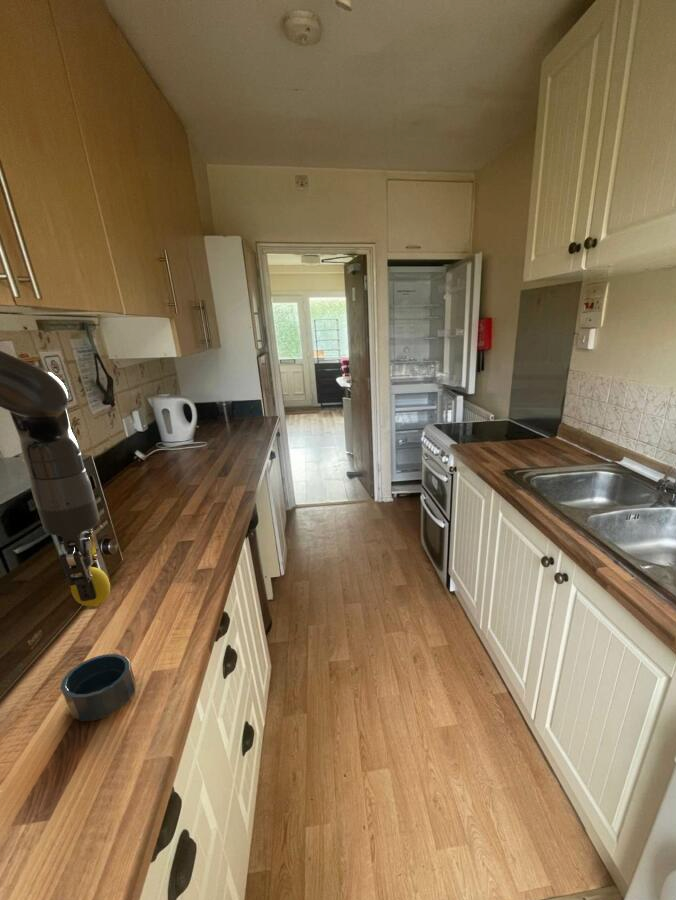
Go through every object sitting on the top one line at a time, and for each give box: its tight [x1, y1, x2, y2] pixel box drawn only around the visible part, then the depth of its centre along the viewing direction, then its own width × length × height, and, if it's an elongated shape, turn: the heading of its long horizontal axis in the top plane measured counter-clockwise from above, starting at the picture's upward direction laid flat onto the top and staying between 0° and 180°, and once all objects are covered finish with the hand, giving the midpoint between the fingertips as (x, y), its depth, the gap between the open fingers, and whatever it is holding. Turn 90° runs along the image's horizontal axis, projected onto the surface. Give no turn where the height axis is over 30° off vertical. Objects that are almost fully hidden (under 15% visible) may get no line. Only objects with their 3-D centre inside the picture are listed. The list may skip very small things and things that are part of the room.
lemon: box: [70, 567, 111, 608], centre depth 74 cm, size 6×6×8 cm
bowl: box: [59, 653, 137, 722], centre depth 70 cm, size 9×9×6 cm
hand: (91, 589), depth 74 cm, fingers closed on lemon, 5 cm apart
